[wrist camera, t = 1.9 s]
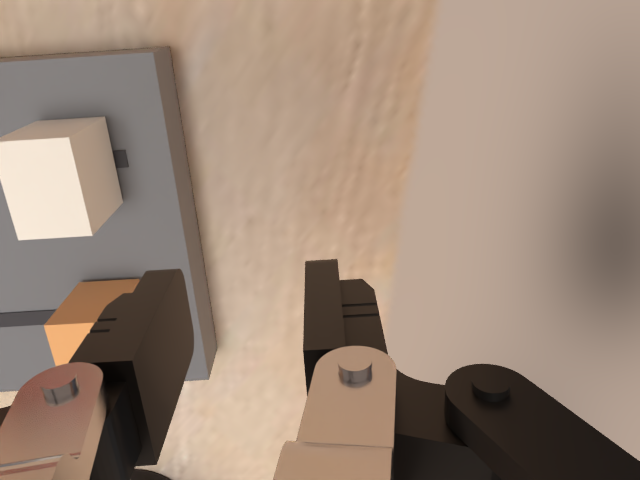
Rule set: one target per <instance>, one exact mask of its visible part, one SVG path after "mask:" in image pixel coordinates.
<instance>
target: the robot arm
mask: <svg viewBox="0 0 640 480" xmlns="http://www.w3.org/2000/svg"><path fill="white" fill-rule="evenodd" d="M193 351H194V330H193V324H192V318H191V312H190V307H189V301H188V295H187V290H186V284H185V279H184V275H183V272H182V270H181V269H165V270H149V271H146V272H145V273H144V275H143V276H142V278H141V280H140V281H139V283H138V285H137V286H136V288H135V289H134V291H133V293H123V294H122V295H120V296H119V297H117V298H116V299H115V300H113V301H112V302H111V303H109V304H108V305H106V307H105V308H104V310H103V311H102V313H101V314H100V316H99V317H98V319H97V322H95V323H94V325H93V326H92V328H91V329H90V333H88V334H87V335H86V337H85V338H84V340H83V341H82V343H81V344H80V346H79V347H78V349H77V350H76V352H75V353H74V355H73V356H72V358H71V359H70V361H69V362H68V363H67V364H62V365H58V366H55V367H52V368H50V369H47V370H45V371H43V372H41V373H39V374H37V375H36V376H34V377H33V378H31V379H30V380H28V381H27V382H26V383H25V384H24V385H23V386H22V387H21V388H20V390H19V391H18V393H17V395H16V397H15V399H14V401H13V403H12V405H11V406H8V407H4V408H0V480H130V478H131V476H132V473H133V471H134V468H135V466H145V465H157V462H158V459H159V456H160V453H161V450H162V447H163V444H164V441H165V438H166V435H167V432H168V429H169V426H170V423H171V420H172V417H173V414H174V411H175V408H176V405H177V402H178V399H179V396H180V393H181V390H182V387H183V384H184V381H185V378H186V375H187V372H188V369H189V366H190V363H191V359H192V356H193ZM303 353H304V364H305V376H306V387H307V400H306V404H305V408H304V412H303V416H302V420H301V424H300V428H299V432H298V436H297V440H296V441H286V442H285V443H284V445H283V447H282V450H281V453H280V457H279V460H278V464H277V467H276V471H275V474H274V478H273V480H640V461H638V460H637V459H636V458H634V457H633V456H632V455H630V454H629V453H627V452H626V451H625V450H623V449H622V448H621V447H619V446H618V445H616V444H615V443H614V442H612V441H611V440H610V439H608V438H607V437H606V436H604V435H603V434H602V433H600V432H599V431H597V430H596V429H595V428H593V427H592V426H590V425H589V424H588V423H587V422H585V421H584V420H582V419H581V418H580V417H578V416H577V415H576V414H574V413H573V412H572V411H570V410H569V409H567V408H566V407H565V406H563V405H562V404H561V403H559V402H558V401H556V400H555V399H554V398H553V397H551V396H550V395H548V394H547V393H546V392H544V391H543V390H542V389H540V388H539V387H537V386H536V385H535V384H533V383H532V382H531V381H529V380H528V379H527V378H525V377H524V376H522V375H521V374H519V373H517V372H515V371H513V370H511V369H508V368H505V367H502V366H497V365H491V364H474V365H469V366H465V367H462V368H459V369H457V370H456V371H454V372H453V373H452V374H451V375H450V376H449V377H448V379H447V380H446V384H445V385H440V384H433V383H428V382H423V381H419V380H415V379H413V378H410V377H408V376H406V375H404V374H403V373H401V372H400V371H398V370H397V369H396V365H395V363H394V361H393V360H392V358H390V356H388V353H387V348H386V343H385V339H384V334H383V329H382V325H381V320H380V316H379V311H378V306H377V301H376V296H375V292H374V289H373V288H372V287H371V286H370V285H368V284H367V283H366V282H365V281H364V280H363V279H353V280H339V271H338V261H337V259H331V260H315V261H306V262H305V300H304V342H303Z"/></svg>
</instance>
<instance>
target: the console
mask: <svg viewBox="0 0 640 480" xmlns="http://www.w3.org/2000/svg"><path fill="white" fill-rule="evenodd" d="M104 116H105V119H106V124H107V129H108V134H109V138H110V143H111V148H112V153H113V157H114V162H115V167H116V171H117V176H118V181H119V186H120V190H121V195H122V200H123V203H122V204H121V205H120V206H119V207H118V209H117V210H116V211H115V212H114V213H113V214H112V215H111V216H110V217H109V218H108V219H107V220H106V222H105V223H104V224H103V225H102V226H101V227H100V228H99V229H98V230H97V231H96V232H95V234H94V235H93V236H81V237H65V238H49V239H33V240H18V238H17V234H16V231H15V228H14V224H13V221H12V218H11V214H10V211H9V207H8V204H7V201H6V197H5V194H4V191H3V187H2V184H1V181H0V392H6V391H19V390H20V388H21V387H22V386H23V385H24V384H25V383H26V382H27V381H28V380H30V379H31V378H33V377H34V376H36V375H37V374H39V373H41V372H43V371H45V370H47V369H50V368H52V367H55V366H56V365H55V362H54V358H53V355H52V352H51V348H50V345H49V342H48V338H47V335H46V332H45V328H44V325H45V323H46V322H47V321H48V320H49V319H50V317H51V316H52V315H53V314H54V312H55V311H56V310H57V309H58V308H59V306H60V305H61V304H62V303H63V301H64V300H65V299H66V298H67V296H68V295H69V294H70V293H71V292H72V290H73V289H74V288H75V287H76V285H77V284H78V283H79V282H94V281H110V280H126V279H139V280H141V278H142V276H143V275H144V273H145V272H146V271H149V270H165V269H181V270H182V272H183V275H184V279H185V284H186V290H187V295H188V301H189V307H190V312H191V318H192V324H193V330H194V351H193V356H192V359H191V363H190V366H189V369H188V372H187V375H186V378H185V381H193V380H209V377H210V374H211V370H212V366H213V362H214V359H215V355H216V351H217V343H216V336H215V330H214V324H213V317H212V311H211V305H210V299H209V292H208V286H207V280H206V273H205V267H204V261H203V254H202V248H201V242H200V236H199V229H198V223H197V217H196V210H195V204H194V198H193V191H192V185H191V179H190V173H189V166H188V160H187V154H186V147H185V141H184V135H183V128H182V122H181V116H180V110H179V103H178V97H177V91H176V84H175V78H174V72H173V65H172V59H171V53H170V47H156V48H141V49H126V50H111V51H96V52H81V53H66V54H50V55H35V56H20V57H5V58H0V137H2V136H4V135H7V134H9V133H11V132H13V131H16V130H18V129H20V128H22V127H24V126H27V125H29V124H31V123H33V122H36V121H42V120H58V119H73V118H88V117H104Z"/></svg>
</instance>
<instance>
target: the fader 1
mask: <svg viewBox="0 0 640 480" xmlns="http://www.w3.org/2000/svg"><path fill="white" fill-rule="evenodd" d="M0 181H1V184H2V187H3V191H4V194H5V197H6V201H7V204H8V207H9V211H10V214H11V218H12V221H13V224H14V228H15V231H16V234H17V238H18V240H33V239H49V238H65V237H81V236H93V235H94V234H95V232H96V231H97V230H98V229H99V228H100V227H101V226H102V225H103V224H104V223H105V222H106V220H107V219H108V218H109V217H110V216H111V215H112V214H113V213H114V212H115V211H116V210H117V209H118V207H119V206H120V205H121V204H122V203H123V200H122V195H121V190H120V186H119V181H118V176H117V171H116V167H115V162H114V157H113V153H112V148H111V143H110V138H109V134H108V129H107V124H106V119H105V116H104V117H88V118H73V119H58V120H42V121H36V122H33V123H31V124H29V125H27V126H24V127H22V128H20V129H18V130H16V131H13V132H11V133H9V134H7V135H4V136H2V137H0Z"/></svg>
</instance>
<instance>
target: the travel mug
mask: <svg viewBox="0 0 640 480" xmlns="http://www.w3.org/2000/svg"><path fill="white" fill-rule="evenodd" d="M130 480H170V479H168V478H167V477H164V476H162V475H160V474H157V473H154V472H150V471H145V470H134V471H133V473H132V476H131V478H130Z"/></svg>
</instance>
